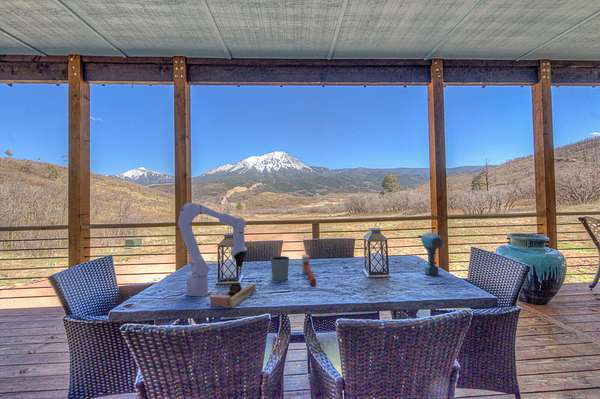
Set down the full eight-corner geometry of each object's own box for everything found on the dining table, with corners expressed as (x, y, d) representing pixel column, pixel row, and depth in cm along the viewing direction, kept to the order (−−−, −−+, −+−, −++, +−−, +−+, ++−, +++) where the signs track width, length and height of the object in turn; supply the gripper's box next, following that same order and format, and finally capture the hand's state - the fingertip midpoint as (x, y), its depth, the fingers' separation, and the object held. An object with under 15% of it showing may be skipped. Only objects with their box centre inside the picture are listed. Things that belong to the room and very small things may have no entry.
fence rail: (228, 307, 128) (228, 299, 128) (251, 290, 150) (251, 283, 150) (232, 307, 127) (232, 299, 127) (255, 290, 149) (255, 283, 149)
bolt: (228, 308, 132) (234, 295, 147) (238, 302, 132) (243, 290, 147) (221, 297, 132) (228, 285, 147) (231, 291, 132) (237, 280, 147)
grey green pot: (267, 279, 169) (267, 257, 169) (281, 275, 176) (281, 255, 176) (278, 283, 161) (278, 260, 161) (293, 279, 168) (292, 257, 168)
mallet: (316, 274, 154) (307, 253, 184) (310, 274, 154) (302, 254, 183) (316, 293, 156) (307, 270, 186) (310, 294, 156) (302, 270, 185)
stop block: (210, 306, 130) (210, 296, 130) (214, 303, 133) (214, 294, 133) (227, 307, 128) (227, 298, 128) (231, 304, 131) (230, 295, 131)
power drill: (412, 266, 190) (411, 229, 189) (426, 266, 189) (425, 229, 189) (430, 279, 162) (429, 235, 161) (447, 278, 161) (446, 235, 161)
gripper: (239, 243, 150) (240, 270, 151) (251, 238, 164) (252, 263, 164) (226, 242, 152) (227, 269, 152) (239, 238, 166) (240, 263, 166)
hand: (239, 266), depth 159 cm, fingers closed
